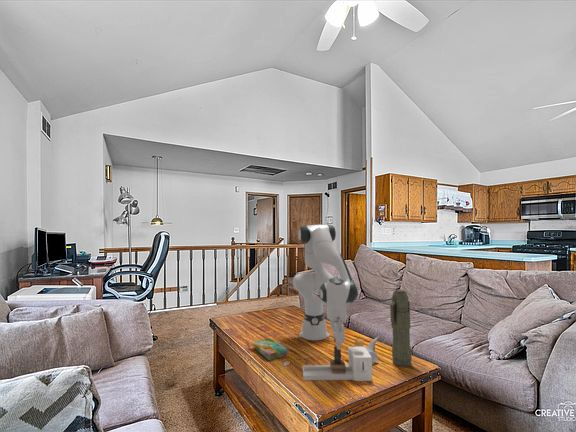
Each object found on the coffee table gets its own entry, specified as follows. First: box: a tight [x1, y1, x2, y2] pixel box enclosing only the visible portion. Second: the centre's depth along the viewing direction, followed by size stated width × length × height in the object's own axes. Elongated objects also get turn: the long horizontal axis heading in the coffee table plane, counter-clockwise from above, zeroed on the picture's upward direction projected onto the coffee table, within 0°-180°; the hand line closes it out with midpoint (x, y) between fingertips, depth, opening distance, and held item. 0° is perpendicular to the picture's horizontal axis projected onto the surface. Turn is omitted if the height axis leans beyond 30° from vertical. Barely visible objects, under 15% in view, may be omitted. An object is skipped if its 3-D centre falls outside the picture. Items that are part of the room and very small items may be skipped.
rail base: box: [302, 346, 373, 382], centre depth 139 cm, size 13×30×10 cm, turn 89°
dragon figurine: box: [346, 335, 381, 365], centre depth 156 cm, size 15×15×9 cm
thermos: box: [390, 289, 412, 368], centre depth 151 cm, size 9×12×35 cm
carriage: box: [329, 345, 346, 373], centre depth 139 cm, size 7×6×10 cm
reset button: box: [354, 338, 365, 347], centre depth 140 cm, size 4×4×2 cm
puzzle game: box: [251, 337, 289, 361], centre depth 165 cm, size 12×5×20 cm
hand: (337, 344), depth 140 cm, fingers open, 8 cm apart
